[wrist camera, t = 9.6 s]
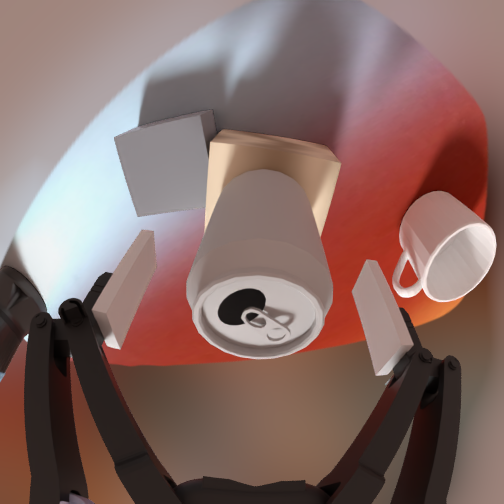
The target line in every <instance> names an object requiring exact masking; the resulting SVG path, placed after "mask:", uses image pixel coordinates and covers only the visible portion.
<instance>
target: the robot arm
mask: <svg viewBox="0 0 504 504" xmlns="http://www.w3.org/2000/svg"><path fill="white" fill-rule="evenodd" d="M156 268H157V263H156V253H155V242H154V231H149V230H141V232H140V233H139V235H138V236H137V238H136V239H135V241H134V242H133V244H132V245H131V247H130V248H129V250H128V251H127V253H126V254H125V256H124V257H123V259H122V260H121V262H120V263H119V265H118V266H117V268H116V270H115V271H114V273H108V272H105V273H104V274H102V275H101V276H100V277H98V279H97V280H96V282H95V283H94V286H93V287H92V288H91V291H89V293H88V295H87V296H86V298H85V300H84V301H83V303H82V301H81V300H79V299H76V298H71V299H68V300H66V301H64V302H63V303H62V304H61V305H60V307H59V310H58V313H59V315H60V317H61V319H52V317H51V316H50V314H49V313H47V310H46V306H45V304H44V302H43V300H42V298H41V296H40V295H39V293H38V292H37V291H36V289H35V288H34V287H33V286H32V284H31V283H30V282H29V281H28V280H27V279H26V278H25V277H24V276H23V275H22V274H20V273H19V272H18V271H16V270H15V269H13V268H11V267H7V266H5V267H2V268H1V270H0V381H1V379H2V378H3V376H4V375H5V372H6V370H7V368H8V366H9V364H10V362H11V360H12V358H13V356H14V354H15V353H16V351H17V349H18V347H19V345H20V343H21V341H22V340H23V338H24V337H25V336H26V335H27V334H29V336H28V344H27V354H26V366H25V384H24V385H25V386H24V413H25V431H26V442H27V451H28V458H29V465H30V471H31V476H32V477H31V487H30V502H29V504H95V503H93V502H92V501H91V500H89V499H88V490H87V483H86V479H85V474H84V470H83V466H82V462H81V457H80V453H79V447H78V442H77V435H76V429H75V422H74V414H73V405H72V394H71V380H70V357H72V358H73V361H74V365H75V368H76V371H77V375H78V378H79V381H80V384H81V387H82V389H83V393H84V395H85V398H86V401H87V403H88V406H89V409H90V411H91V414H92V416H93V419H94V421H95V423H96V426H97V428H98V430H99V432H100V434H101V436H102V438H103V441H104V443H105V445H106V447H107V449H108V451H109V453H110V455H111V457H112V459H113V461H114V464H115V470H116V473H117V474H118V477H119V478H120V480H121V482H122V483H123V485H124V487H125V488H126V490H127V491H128V493H129V495H130V496H131V498H132V499H133V501H134V502H135V504H371V503H372V502H373V500H374V499H375V498H376V496H377V495H378V493H379V492H380V490H381V489H382V487H383V485H384V483H385V478H384V474H385V472H386V470H387V468H388V467H389V465H390V463H391V461H392V459H393V458H394V456H395V454H396V452H397V451H398V449H399V447H400V445H401V443H402V441H403V439H404V437H405V435H406V433H407V431H408V428H409V426H410V424H411V422H412V419H413V417H414V420H413V425H412V430H411V435H410V439H409V443H408V448H407V452H406V456H405V459H404V463H403V466H402V469H401V473H400V476H399V479H398V482H397V485H396V488H395V491H394V494H393V497H392V500H391V503H390V504H446V498H447V494H448V490H449V486H450V482H451V477H452V472H453V467H454V462H455V456H456V449H457V442H458V434H459V423H460V409H461V366H460V363H459V361H458V360H457V359H456V358H455V357H454V356H450V355H449V356H447V357H446V358H445V359H444V360H439V359H436V358H433V355H432V354H431V352H430V351H429V350H428V349H425V348H422V346H421V343H420V341H419V338H418V336H417V333H416V331H415V328H414V326H413V324H412V323H411V319H410V317H409V314H408V313H407V312H406V311H405V310H404V308H399V307H398V305H397V303H396V301H395V298H394V296H393V294H392V292H391V290H390V287H389V285H388V283H387V281H386V279H385V277H384V275H383V273H382V271H381V269H380V267H379V265H378V263H377V261H374V260H367V259H366V262H365V264H364V266H363V269H362V271H361V273H360V275H359V277H358V280H357V282H356V284H355V286H354V288H353V290H352V294H353V297H354V300H355V303H356V306H357V309H358V313H359V316H360V319H361V323H362V326H363V329H364V333H365V337H366V340H367V344H368V347H369V351H370V354H371V359H372V362H373V367H374V371H375V375H387V374H388V373H389V372H390V371H391V370H392V369H393V371H394V375H393V376H392V377H391V378H390V379H389V380H388V381H387V382H386V383H385V385H387V384H388V385H387V387H386V389H385V391H384V392H383V394H382V396H381V398H380V400H379V401H378V403H377V405H376V407H375V408H374V410H373V412H372V413H371V415H370V417H369V418H368V420H367V422H366V423H365V425H364V426H363V428H362V430H361V431H360V433H359V434H358V436H357V437H356V439H355V440H354V441H353V443H352V444H351V446H350V447H349V449H348V450H347V451H346V453H345V454H344V456H343V457H342V458H341V460H340V461H339V462H338V464H337V465H336V466H335V468H334V469H333V470H332V471H331V472H330V473H329V474H328V475H327V476H326V477H324V478H323V479H322V480H321V481H320V482H319V483H318V485H317V486H313V485H310V484H306V483H305V480H301V481H280V482H276V483H272V484H267V485H262V486H257V487H256V486H255V487H254V486H250V485H247V484H243V483H240V482H236V481H233V480H230V479H222V478H213V477H205V476H203V478H202V479H194V480H190V481H186V482H184V483H181V484H179V485H178V486H177V484H176V483H175V482H174V480H173V479H172V478H171V476H170V475H169V473H168V472H167V470H166V469H165V468H164V466H163V465H162V464H161V463H160V461H159V460H158V458H157V456H156V455H155V453H154V452H153V450H152V449H151V447H150V445H149V444H148V442H147V440H146V438H145V437H144V435H143V433H142V432H141V430H140V428H139V426H138V424H137V423H136V421H135V419H134V417H133V415H132V414H131V411H130V409H129V407H128V405H127V403H126V401H125V399H124V397H123V395H122V393H121V391H120V389H119V386H118V385H117V382H116V380H115V377H114V375H113V373H112V370H111V368H110V365H109V363H108V361H107V358H106V355H105V353H104V350H103V348H102V343H103V341H104V340H105V342H106V344H107V346H109V347H112V348H116V349H121V347H122V344H123V342H124V339H125V337H126V334H127V332H128V330H129V327H130V325H131V323H132V320H133V318H134V316H135V313H136V311H137V309H138V306H139V304H140V302H141V300H142V298H143V295H144V293H145V291H146V289H147V287H148V285H149V282H150V280H151V278H152V276H153V274H154V272H155V270H156Z"/></svg>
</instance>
